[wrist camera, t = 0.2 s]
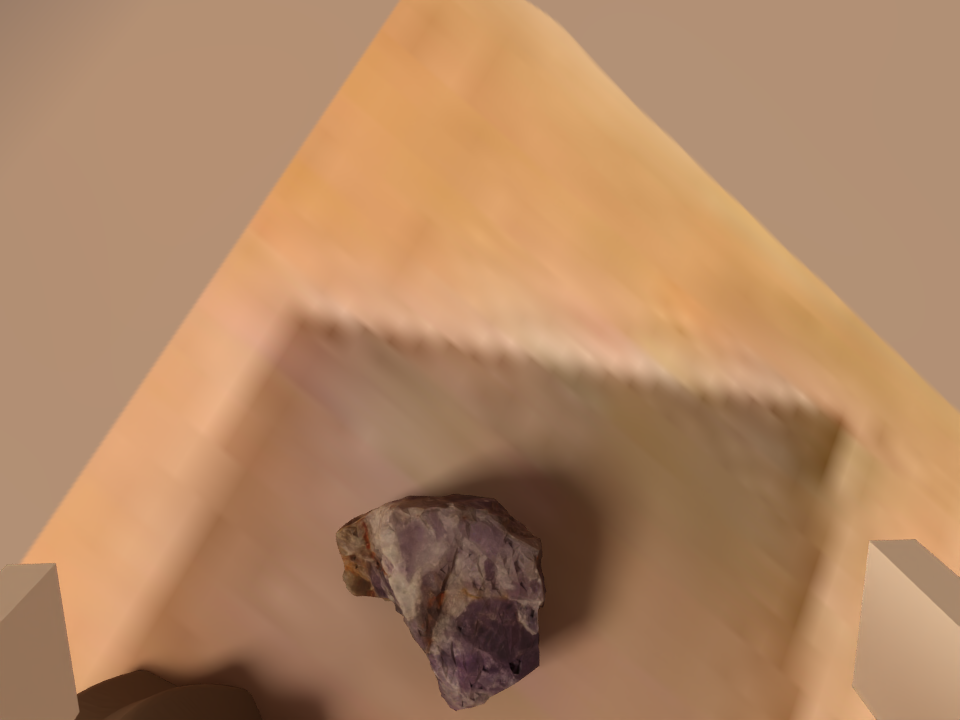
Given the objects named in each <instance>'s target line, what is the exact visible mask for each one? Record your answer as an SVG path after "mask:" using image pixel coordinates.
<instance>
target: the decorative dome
mask: <svg viewBox="0 0 960 720" xmlns="http://www.w3.org/2000/svg"><path fill="white" fill-rule="evenodd" d="M77 700H78V706H79V713H78V715H77V716H76V718H75V720H262V718H261V715H260V713H259V711H258V709H257V706H256V704H255V702H254V699H253V697H252V695H251V694H250V693H249V692H248V691H246V690H244V689H241V688H237V687H231V686H225V685H216V684H195V685H186V686H180V687H177V686H175V685H173V684H172V683H170V682H168V681H166V680H164V679H162V678H160V677H158V676H156V675H154V674H152V673H150V672H148V671H144V670H141V671H135V672H131V673H127V674H124V675H120V676H117V677H114V678H111V679H108V680H105V681H103V682H101V683H98V684H96V685H94V686H92V687H90V688H88V689H86V690H84V691H82V692H80V693H78V694H77Z"/></svg>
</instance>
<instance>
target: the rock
mask: <svg viewBox="0 0 960 720" xmlns="http://www.w3.org/2000/svg"><path fill="white" fill-rule="evenodd" d="M336 541H337V545H338V548H339V552H340V554H341V556H342V559H343V562H344V567H345V571H344V574H343V581H344V582H345V583H346V588H347V589H348V590H349V591H350V592H351V593H352V594H353V595H355V596H372V597H379V598H383V599H384V600H385V601H393V602H394V604H395V607H396V611H397V612H398V613H400V614H401V615H403V616H404V622H405V623H406V625H407V626H408V627H409V629H410V632H411V634H412V637H413V638H414V640H415V641H416V642H417V643H418V644H419V646H420V647H421V648H422V649H423V651H424V652H425V653H426V655H427V657H428V659H429V660H430V665H431V668H432V670H433V671H434V673H435V675H436V677H437V680H438V683H439V689H440V692H441V696H442V697H443V698H444V699H445V700H446V702H447V703H448V705H449V707H450V708H452V709H454V710H455V711H457V710H460V709H465V708H471V707H475V706H478V705H481V704H484V703H485V702H486V701H487V700H488V699H489V697H491V696H493V695H495V694H497V693H499V692H501V691H503V690H504V689H506V688H508V687H510V686H512V685H513V684H515V683H516V682H518V681H519V680H521V679H522V678H524V677H525V676H526V675H528V674H529V673H530V672H532V671H533V670H534V669H535V668H537V667H538V666H539V648H538V644H539V633H538V630H539V625H538V609H539V608H540V607H543V606H544V601H545V593H546V589H545V585H544V576H543V574H542V570H541V557H542V546H541V541H540V539H539V538H537V537H534V536H533V535H532V534H531V533H530V532H529V531H527V529H526V527H525V526H524V525H523V524H521V523H520V522H518V521H517V520H515V519H514V518H513V517H511V516H510V515H509V514H508V512H507V511H506V510H505V508H504V507H503V506H502V505H501V504H499V503H498V502H497V501H496V500H495V499H491V498H485V497H477V496H469V495H460V494H453V495H449V496H444V497H431V496H420V497H419V496H407V497H405V498H402V499H400V500H396V501H392V502H388V503H386V504H384V505H383V506H381V507H379V508H376V509H374V510H371V511H369V512H367V513H366V514H362V515H360V516H358V517H356V518H354V519H352V520H350V521H349V522H348V523H346V524H345V525H344V526H343V527H342V528H340V529H339V530H338V532H337V533H336Z"/></svg>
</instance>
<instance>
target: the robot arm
mask: <svg viewBox="0 0 960 720" xmlns="http://www.w3.org/2000/svg"><path fill="white" fill-rule="evenodd" d="M852 687H853V688H854V690H855V691H856V692H857V694H858V695H859V697H860V698H861V699H862V701H863V702H864V703H865V705H866V706H867V707H868V709H869V710H870V712H871V713H872V714H873V716H874V717H875V718H876V720H960V577H959V576H957V575H956V574H955V573H954V572H953V571H952V570H950V569H949V568H948V567H947V566H946V565H945V564H943V563H942V562H941V561H940V560H939V559H938V558H936V557H935V556H934V555H933V554H932V553H931V552H929V551H928V550H927V549H926V548H925V547H924V546H923V545H921V544H920V543H919V542H918V541H917V540H916V539H911V540H875V541H869V548H868V556H867V565H866V573H865V582H864V590H863V599H862V607H861V616H860V624H859V633H858V641H857V650H856V658H855V667H854V676H853V684H852ZM78 713H79V706H78V700H77V694H76V687H75V681H74V675H73V668H72V662H71V656H70V650H69V643H68V637H67V631H66V624H65V618H64V612H63V605H62V599H61V593H60V587H59V580H58V574H57V568H56V563H45V564H9V565H6V566H5V567H4V568H3V569H2V570H1V571H0V720H75V718H76V716H77V715H78Z"/></svg>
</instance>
